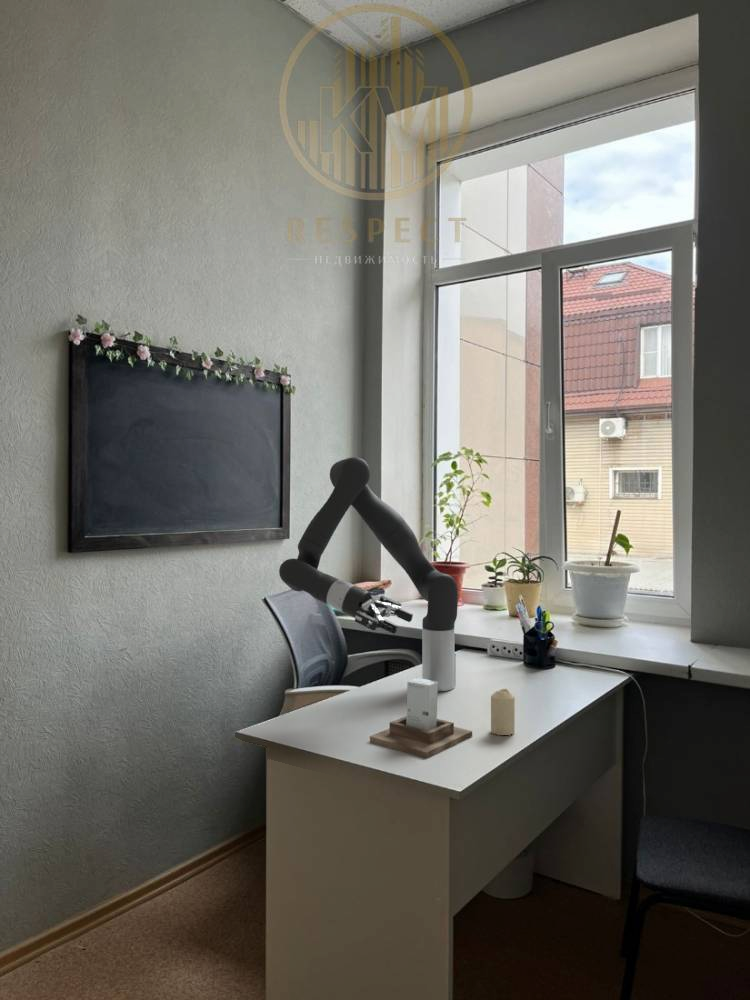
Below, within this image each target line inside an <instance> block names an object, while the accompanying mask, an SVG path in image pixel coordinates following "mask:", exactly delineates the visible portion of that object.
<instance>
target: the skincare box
mask: <svg viewBox="0 0 750 1000" xmlns="http://www.w3.org/2000/svg"><path fill="white" fill-rule="evenodd" d="M406 686H407V689H406V716H407V718H406V725H408V726H412V727H416V728H419V729H423V730H427V731H430V730H432V729H434V728H436V724H437V719H438V718H437V716H438V692H439V691H438V682H436V681H431V680H427V679H422V677H421V678H419V677H414V678H412V679H410V680H408V681H407V685H406Z"/></svg>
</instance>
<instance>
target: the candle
mask: <svg viewBox="0 0 750 1000" xmlns="http://www.w3.org/2000/svg"><path fill="white" fill-rule="evenodd" d="M515 703H516V702H515V694H513V693H512V692H510V691H509V690H508V689H507V688H501V689H500V690H496V691H494V692H493V693H491V696H490V733H492V734H493V733H494V734H493V735H495V734H497V736H500V735H509V736H512V735H511V734H513V733H514V734H515V727H516V725H515V723H516V722H515V719H516V718H515V715H516V714H515V711H516V709H515V708H516V704H515ZM514 734H513V735H514Z"/></svg>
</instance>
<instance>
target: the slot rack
mask: <svg viewBox="0 0 750 1000" xmlns="http://www.w3.org/2000/svg"><path fill="white" fill-rule="evenodd" d="M406 718H407V715H406V716H403V717H400V718H398V719H396V720H393V721H391V722H389V728H387V729H384V730H382V731H380V732H377V733H374V734H372V735H370V736H369V742H371V743H373V742H374V743H373V744H377V745H380V744H381V746H384V747H387V748H390V747H391V749H393V750H394V749H395V750H397V751H401V752H405V753H408V754H411V755H414V756H415V755H416V756H418V757H422V758H425V759H428V758H430V757H432V756H434V755H436V754H438V753H440V752H442V751H444V750H447V749H449V748H451V747H453V746H455V745H457V744H459V743H461V742H464V741H466V740H467V739H470V738H471V736H472V737H473V730H470V729H469V730H468V729H466V728H462V727H457V726H455V722H451V721H447V720H444V719H443V720H442V719H439V718H437V724H436V728H434V729H432V730H430V731H427V730H423V729H419V728H416V727H412V726H408V725H406ZM469 737H470V738H469Z"/></svg>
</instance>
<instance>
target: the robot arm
mask: <svg viewBox="0 0 750 1000" xmlns="http://www.w3.org/2000/svg"><path fill="white" fill-rule="evenodd" d="M370 477H371V469H370V466H369V465H368V462H366V460H364V459H363V458H360V457H357V456H353V457H348V458H345V459H341V460H338V461H336V462H335V463H333V464H332V466H331V468H330V470H329V479H330V482H331V484H332V486H333V487H334V488H333V490H332V492H331V494H330V495H329V497H328V498H327V500H326V502H325V503H324V504H323V505H322V507H321V508H320V509H319V510H318V512H317V513H316V514H315V515H314V516H313V517H312V519H310V522H309V524H308V525H307V527H306V529H305V530H304V532H303V534H302V535H301V538H300V540H299V541H298V544H297V549H298V554H297V555H298V556H297V558H289V559H288V558H287V559H286V560H284V561H283V562H282V563H281V564H280V566H279V570H278V574H279V578H280V579H281V580H282V582H283V583H284V584H286V585H287V586H288V588H290V589H291V590H293V591H294V592H305V593H307V594H309V595H310V596H311V597H312V598H314V599H315V600H318V601H320V602H322V603H324V604H326V605H328V606H330V607H331V608H333V609H334V610H336V611H339V612H341V613H343V614H345V615H347V616H350V617H351V618H354V622H356V623H357V624H359V625H361V626H364V628H365V627H366V628H367V629H370V630H372V631H376V630H377V629H378V630H381V629H382V630H385V631H386V632H388V633H391V634H392V635H393V634H394V635H395V634H396V633H397V632H398V627H399V626H398V624H395V623H394V622H392V621H389V620H387V619H384V617H386V618H388V617H389V618H390V617H397V618H399V619H401V620H403V621H406V622H408V623H411V622H412V620H413V617H414V614H413V613H411V612H409V611H407V610H405V609H402V608H401V607H402V603H401V602H400V601H397V600H394V599H392V598H389V597H387V596H384V595H380V597H379V599H374V598H373V597H372V594H371V591H368V590H366V589H364V588H362V587H360V586H358V585H355V584H353V583H350V582H348V581H345V580H341V579H339V578H337V577H334V576H332V575H331V574H327V573H325V572H323V571H320V569H318V567H319V565H320V561H321V558H322V555H323V553H324V552H325V550H326V548H327V546H328V545H329V543H330V540H331V539H332V536H333V535H334V533H335V531H336V529H337V528H338V526H339V525H340V523H341V521H342V519H343V518H344V516H345V514H346V513H347V511H348V510H349V508H350V507H351V506H352V508H354V509H355V511H356V512H357V513H358V515H359V516H360V517H361V518H362V520H363V522H364V523H365V524H366V525H367V526H368V528H369V529H370V531H371V532H372V533H373V534H374V536H375V537H376V539H377V540H378V541H379V542H380V544H381V545H382V546H383V547H384V549H385V550H386V552H388V554H390V556H391V557H392V558H393V559H394V560H395V561H396V563H397V564H398V565H399V566H400V567H401V568H402V569H403V570H404V571H405V573H406V574H407V576H408V577H409V579H410V580H411V582H412V583H413V585H414V587H415V588H416V591H417V592H418V594H419V595H420V596H421V598H423V599H424V600H425V601H426V602H427V612H426V615H425V616H424V617H423V618H422V620H421V621H422V622H421V623H422V625H421V627H422V630H421V631H422V632H421V633H422V640H421V641H422V644H421V645H422V647H421V648H422V649H421V650H422V659H421V660H422V664H421V665H422V668H421V671H422V672H421V673H422V677H421V679H427V680H431V681H436V682H438V692H446V691H451V690H453V689H455V686H456V685H457V682H456V679H457V677H456V676H457V673H456V671H457V664H456V663H457V661H456V660H457V659H456V658H457V655H456V653H455V624H456V620H457V618H458V601H459V599H458V597H459V592H458V591H459V589H458V584H457V581H456V580H455V578H454V577H453V576H451V575H450V574H447V573H443V572H441V571H439V570H437V569H436V568H435V566H434V565H433V564H432V563H431V562H430V560H428V558H427V557H426V556H425V555H424V553H423V551H422V549H421V546H420V544H419V541H418V539H417V536H416V535H415V532H414V530H413V529H412V527H410V526H409V525H408V523H407V522H406V520H405V519H404V518H403V516H402V515H401V514H400V513H399V512H398V511H396V510H395V508H392V507H391V506H390V505H389V504H387V503H386V502H385V501H383V500H382V499H381V498H380V497H379V496H377V495H376V494H375V493H374V492H373V491H372V489H371V488H370V486H369V485H368V483H369V481H370Z"/></svg>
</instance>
